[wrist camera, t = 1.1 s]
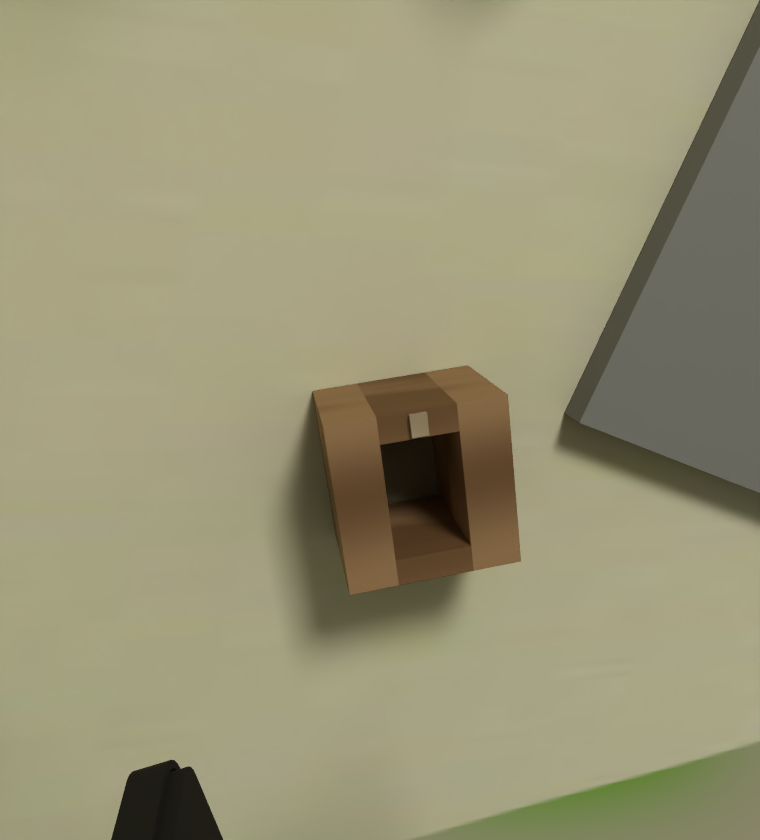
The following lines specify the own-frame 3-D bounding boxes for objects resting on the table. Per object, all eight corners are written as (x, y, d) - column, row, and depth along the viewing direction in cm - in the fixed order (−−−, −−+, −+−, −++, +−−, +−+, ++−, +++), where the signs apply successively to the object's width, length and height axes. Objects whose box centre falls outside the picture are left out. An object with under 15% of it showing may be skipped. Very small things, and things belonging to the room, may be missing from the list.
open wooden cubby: (481, 508, 31) (522, 563, 27) (335, 536, 31) (350, 597, 26) (467, 365, 30) (509, 396, 25) (312, 391, 29) (323, 427, 24)
